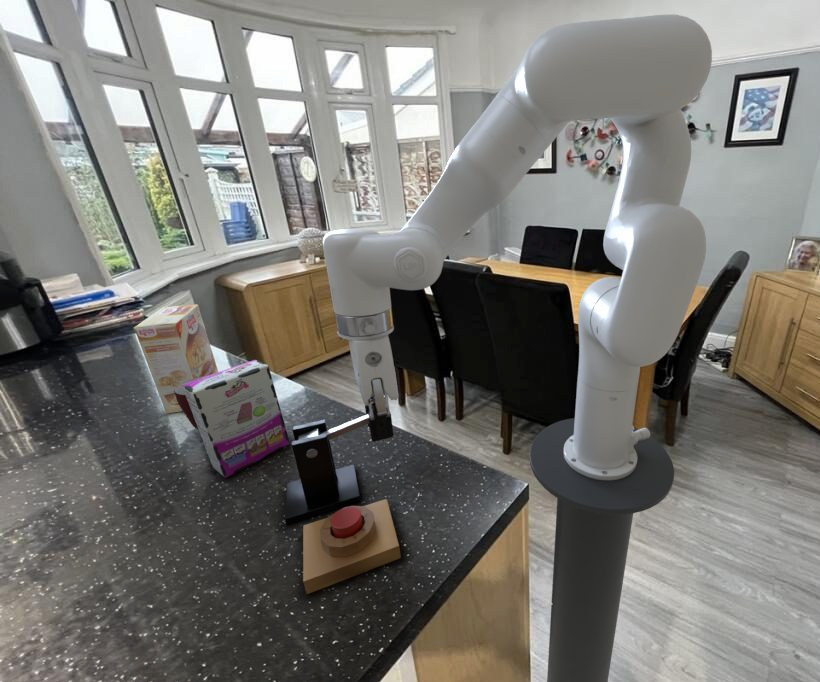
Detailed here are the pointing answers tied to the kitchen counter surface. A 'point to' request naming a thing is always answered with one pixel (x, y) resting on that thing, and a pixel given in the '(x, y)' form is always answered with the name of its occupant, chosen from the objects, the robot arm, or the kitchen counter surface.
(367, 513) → the button block
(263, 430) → the candy bar box
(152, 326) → the coffeecake box
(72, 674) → the kitchen counter surface
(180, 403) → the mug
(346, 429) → the switch lever
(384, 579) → the kitchen counter surface
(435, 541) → the kitchen counter surface
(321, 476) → the switch bracket
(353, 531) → the button
